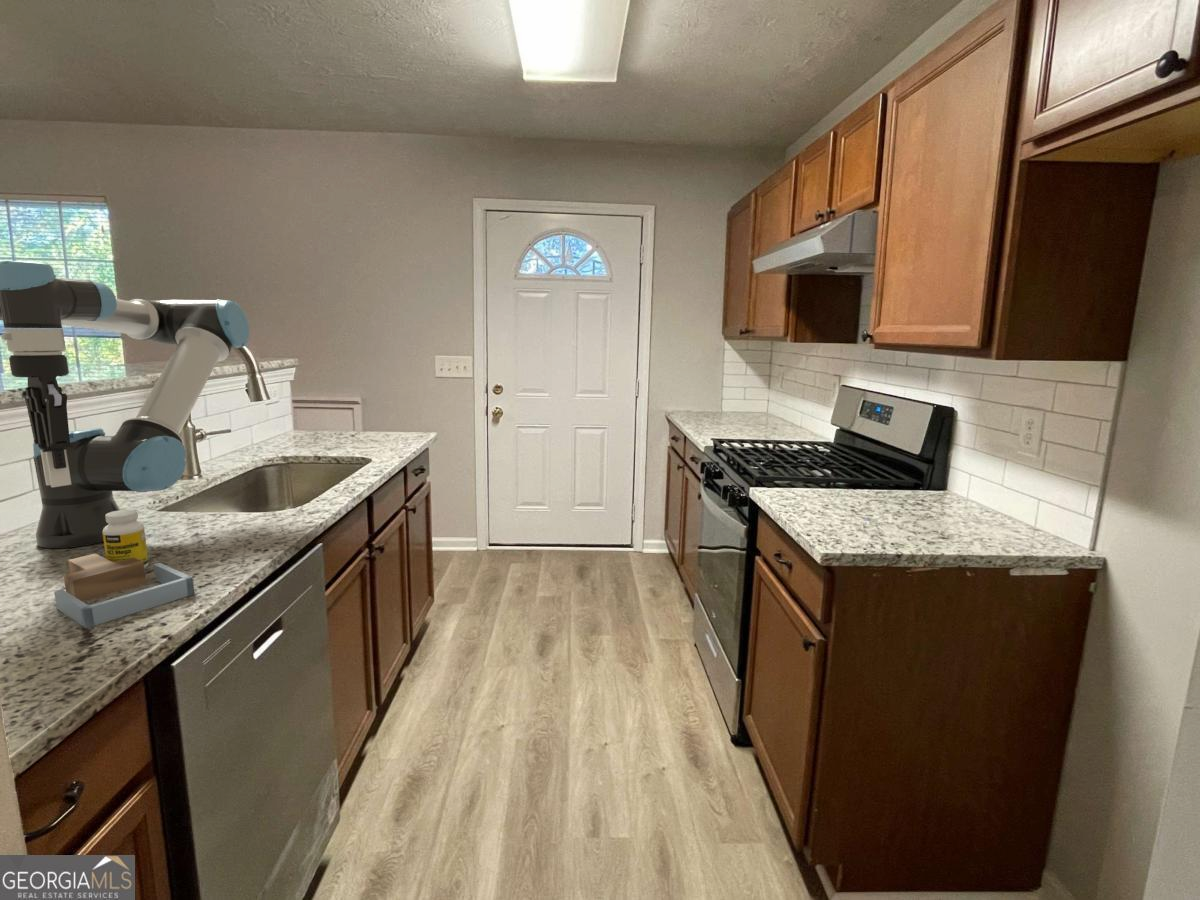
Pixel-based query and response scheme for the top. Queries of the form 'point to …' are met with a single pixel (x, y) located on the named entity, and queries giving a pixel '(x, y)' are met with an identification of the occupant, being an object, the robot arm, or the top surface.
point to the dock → (127, 599)
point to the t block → (102, 576)
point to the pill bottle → (124, 537)
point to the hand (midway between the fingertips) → (58, 484)
